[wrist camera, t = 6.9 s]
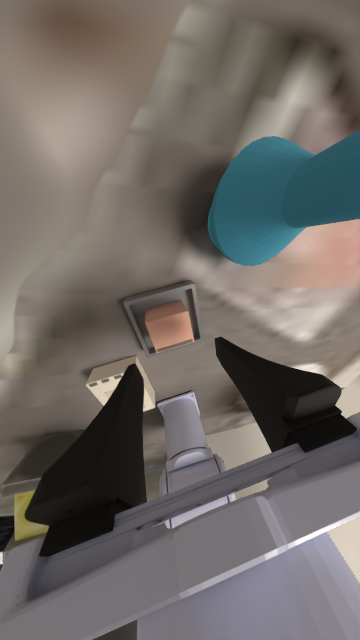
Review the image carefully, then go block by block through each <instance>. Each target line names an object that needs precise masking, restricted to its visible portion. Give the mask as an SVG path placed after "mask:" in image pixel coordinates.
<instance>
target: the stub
mask: <svg viewBox="0 0 360 640" xmlns="http://www.w3.org/2000/svg"><path fill="white" fill-rule="evenodd" d="M145 324H146V327H147V329H148V332H149V335H150V337H151V340H152V342H153V345H154V348H155V350H156V353H159V352H163V351H166V350H169V349H173V348H176V347H179V346H183V345H186V344H189V343H192V342H194V337H193V332H192V327H191V322H190V317H189V312H188V310H187V308H186V307H185V305H184V304H183V302H182V301H181V300H179V301H176V302H172V303H168V304H165V305H161V306H157V307H154V308H150V309H146V315H145Z"/></svg>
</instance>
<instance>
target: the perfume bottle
mask: <svg viewBox="0 0 360 640" xmlns="http://www.w3.org/2000/svg"><path fill="white" fill-rule="evenodd" d="M355 219H360V130H359V131H357V132H355V133H353V134H352V135H350V136H348V137H346V138H345V139H343V140H341V141H340V142H338V143H336V144H334V145H333V146H331V147H329V148H327V149H326V150H324V151H322V152H320V153H319V154H317V155H314V154H312V153H310V152H308V151H306V150H304V149H302V148H301V147H299V146H298V145H296V144H295V143H293V142H291V141H288V140H286V139H284V138H280V137H275V136H272V137H263V138H261V139H259V140H256V141H254V142H252V143H251V144H249V145H248V146H247V147H245V148H244V149H243V150H242V151H241V152H240V153H239V154H238V155H237V156H236V157H235V158H234V160H233V161H232V162H231V164H230V165H229V167H228V168H227V170H226V171H225V173H224V174H223V176H222V178H221V180H220V182H219V184H218V187H217V189H216V191H215V195H214V198H213V202H212V206H211V209H210V212H209V216H208V231H209V236H210V238H211V240H212V242H213V243H214V245H215V246H216V247H217V248H218V249H219V251H220V252H221V253H222V254H223V255H224V256H225V257H226V258H227V259H229V260H231V261H233V262H235V263H238V264H241V265H245V266H254V265H258V264H262V263H264V262H266V261H268V260H270V259H271V258H273V257H274V256H276V255H277V254H278V253H279V252H280V251H281V250H283V249H284V248H285V247H286V246H287V245H288V244H289V243H290V242H291V241H292V240H293V239H294V238H295V237H296V236H297V235H298V234H299V233H300V232H301V231H303V230H304V229H305V228H306V227H310V226H316V225H323V224H329V223H336V222H342V221H349V220H355Z"/></svg>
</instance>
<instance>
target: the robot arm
mask: <svg viewBox="0 0 360 640" xmlns="http://www.w3.org/2000/svg"><path fill="white" fill-rule="evenodd" d="M215 346H216V355H217V357H218V359H219V361H220V363H221V365H222V366H223V368H224V369H225V371H226V372H227V374H228V375H229V377H230V378H231V379H232V381H233V382H234V384H235V385H236V387H237V388H238V390H239V391H240V393H241V395H242V396H243V398H244V400H245V402H246V403H247V405H248V407H249V409H250V411H251V412H252V414H253V416H254V418H255V420H256V422H257V424H258V426H259V428H260V429H261V431H262V433H263V435H264V437H265V439H266V441H267V443H268V445H269V447H270V449H271V451H272V453H270V454H268V455H265V456H263V457H260V458H258V459H255V460H252V461H250V462H247V463H245V464H242V465H240V466H237V467H235V468H232V469H230V470H227V469H226V467H225V464H224V462H223V460H222V459H221V458H220V457H219V456H218V455H217V454H213V453H212V450H211V448H209V447H208V444H207V441H206V437H205V434H204V431H203V428H202V424H201V421H200V418H199V416H200V413H199V409H198V406H197V402H196V398H195V394H194V392H193V391H191V392H188V393H185V394H182V395H179V396H176V397H173V398H170V399H167V400H164V401H161V402H159V403H157V406H158V408H159V410H160V412H161V414H162V416H163V418H164V426H165V437H166V448H167V459H168V461H166V465H167V470H163V472H162V475H161V477H160V497H159V498H156V499H154V500H151V501H149V502H147V498H146V486H145V474H144V458H143V433H142V419H143V404H144V379H143V377H142V375H141V373H140V371H139V369H138V367H137V365H136V363H134V364H131V365H128V367H127V369H126V371H125V372H124V374H123V376H122V378H121V380H120V381H119V383H118V385H117V386H116V388H115V390H114V391H113V393H112V395H111V396H110V398H109V399H108V401H107V402H106V404H105V405H104V407H103V408H102V409H101V411H100V412H99V413H98V415H97V416H96V417H95V419H94V420H93V421H92V422H91V423H90V425H89V426H88V427H87V428H86V430H85V431H84V432H83V433H82V434H81V435H80V437H79V438H78V439H77V440H76V441H75V442H74V443H73V444H72V445H71V446H70V447H69V449H68V450H67V451H66V452H65V453H64V454H63V455H62V456H61V457H60V458H59V459H58V460H57V461H56V462H55V463H54V464H53V465H52V466H51V467H50V468H49V469H48V470H47V471H46V472H45V473H44V474H43V475H42V477H41V479H40V482H39V484H38V486H37V488H36V490H35V492H34V494H33V496H32V498H31V500H30V503H29V505H28V507H27V509H26V511H25V514H24V517H25V519H26V520H27V521H30V522H33V523H37V524H42V525H47V526H49V528H48V531H47V534H46V537H40V538H37V539H34V540H31V541H29V542H26V543H24V544H21V545H18V546H16V547H13V548H12V549H11V550H10V552H9V554H8V556H7V558H6V560H5V562H4V565H3V567H2V569H1V571H0V640H92V639H94V638H97V637H99V636H101V635H103V634H105V633H108V632H110V631H112V630H114V629H116V628H118V627H121V626H123V625H125V624H127V623H129V622H132V621H134V620H136V619H138V624H137V625H138V626H137V627H138V628H137V640H360V584H359V582H358V580H357V579H356V577H355V575H354V574H353V572H352V571H351V569H350V568H349V566H348V564H347V563H346V561H345V560H344V558H343V557H342V555H341V553H340V552H339V550H338V549H337V547H336V546H335V544H334V542H333V541H332V539H331V538H330V537H329V535H328V534H327V531H329V530H331V529H333V528H335V527H337V526H339V525H341V524H343V523H346V522H348V521H350V520H352V519H354V518H356V517H359V516H360V412H359V413H357V414H354V415H352V416H350V417H348V418H347V419H346V418H344V417H343V416H342V415H341V413H342V411H341V410H340V409H339V408H337V407H336V406H335V404H336V402H337V401H338V399H339V397H340V395H341V388H340V387H339V386H338V385H336V384H335V383H334V382H332V381H331V380H329V379H328V378H326V377H325V376H323V375H322V374H317V373H312V372H307V371H303V370H299V369H295V368H291V367H287V366H284V365H281V364H278V363H275V362H272V361H269V360H266V359H264V358H261V357H259V356H256V355H254V354H252V353H250V352H248V351H246V350H244V349H242V348H240V347H238V346H236V345H234V344H233V343H231V342H229V341H228V340H226V339H224V338H222V337H218V338H215ZM271 477H272V478H271ZM269 478H270V479H269ZM266 479H269V480H268V481H267V484H268V486H269V487H268V488H267V489H266V490H264V491H261V492H258V493H254V494H251V495H249V496H246V497H243V498H240V499H237V500H236V498H235V494H234V493H235V492H237V491H239V490H242V489H244V488H247V487H249V486H251V485H254V484H256V483H259V482H261V481H264V480H266ZM161 522H162V524H161V525H157V526H154V525H156V524H159V523H161ZM152 526H153V527H152Z"/></svg>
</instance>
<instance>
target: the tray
mask: <svg viewBox="0 0 360 640" xmlns="http://www.w3.org/2000/svg"><path fill="white" fill-rule="evenodd" d="M179 300H181V301H182V302H183V304H184V305H185V307H186V308H187V310H188V312H189V317H190V322H191V327H192V332H193V337H194V342H192V343H189V344H186V345H183V346H179V347H176V348H173V349H169V350H166V351H163V352H159V353H156V350H155V348H154V345H153V342H152V340H151V337H150V335H149V332H148V329H147V327H146V324H145V315H146V309H150V308H154V307H157V306H161V305H165V304H168V303H172V302H176V301H179ZM123 304H124V306H125V309H126V311H127V313H128V315H129V318H130V320H131V322H132V324H133V327H134V329H135V331H136V333H137V336H138V338H139V340H140V342H141V345H142V347H143V349H144V351H145V354H146V356H147V358H148V357H152V356H155V355H158V354H161V353H165V352H168V351H171V350H174V349H178V348H181V347H184V346H187V345H191V344H194V343H197V342H200V341H204V337H203V331H202V324H201V318H200V312H199V306H198V299H197V293H196V287H195V283H194V282H192V281H191V280H190V281H186V282H183V283H179V284H175V285H171V286H168V287H164V288H160V289H156V290H153V291H149V292H145V293H142V294H138V295H134V296H130V297H127V298H125V300H124V302H123Z"/></svg>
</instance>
